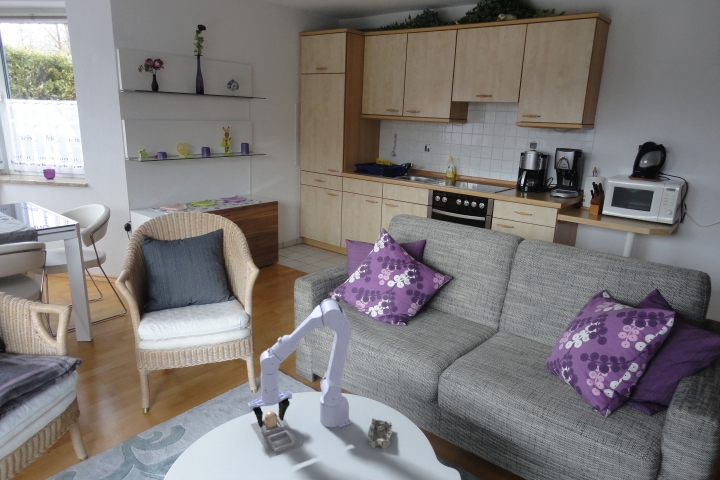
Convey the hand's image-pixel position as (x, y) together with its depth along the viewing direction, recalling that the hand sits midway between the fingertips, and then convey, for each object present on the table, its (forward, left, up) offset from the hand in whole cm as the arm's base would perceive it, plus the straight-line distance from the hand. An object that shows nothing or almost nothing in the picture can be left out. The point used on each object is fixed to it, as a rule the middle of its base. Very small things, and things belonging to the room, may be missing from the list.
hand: (270, 422), depth 158 cm
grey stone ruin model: (-30, +21, -3) cm, 37 cm away
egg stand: (0, +5, -3) cm, 5 cm away
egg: (0, 0, -2) cm, 2 cm away
